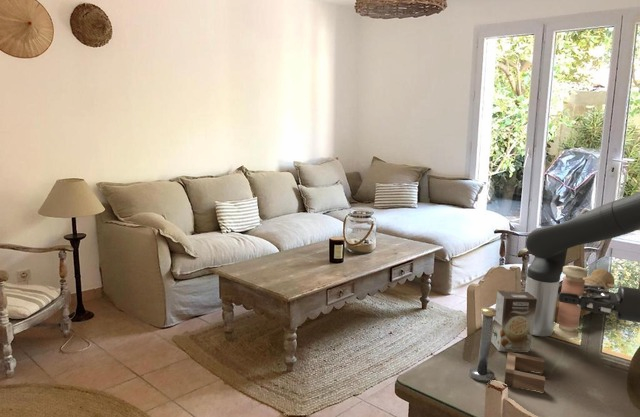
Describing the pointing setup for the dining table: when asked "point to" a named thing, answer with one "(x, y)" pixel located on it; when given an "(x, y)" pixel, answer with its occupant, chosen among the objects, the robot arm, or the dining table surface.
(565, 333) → the thread spool
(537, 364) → the notched board
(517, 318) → the coffee box
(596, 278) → the decorative spool
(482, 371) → the post
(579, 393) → the dining table surface
